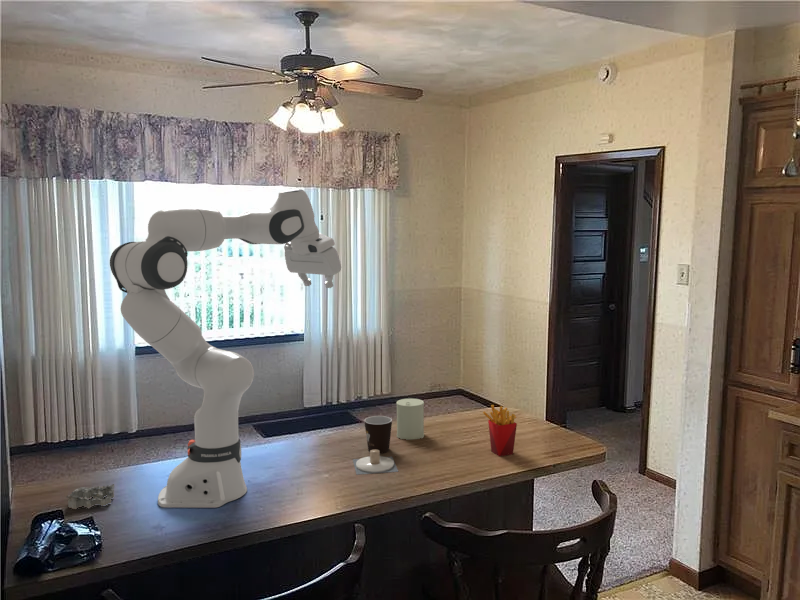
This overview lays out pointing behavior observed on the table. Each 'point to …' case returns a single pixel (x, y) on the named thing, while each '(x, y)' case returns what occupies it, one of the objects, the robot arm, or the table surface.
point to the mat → (374, 472)
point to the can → (410, 419)
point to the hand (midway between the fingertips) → (318, 286)
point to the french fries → (501, 431)
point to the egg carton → (97, 494)
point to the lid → (375, 462)
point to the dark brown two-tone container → (378, 433)
